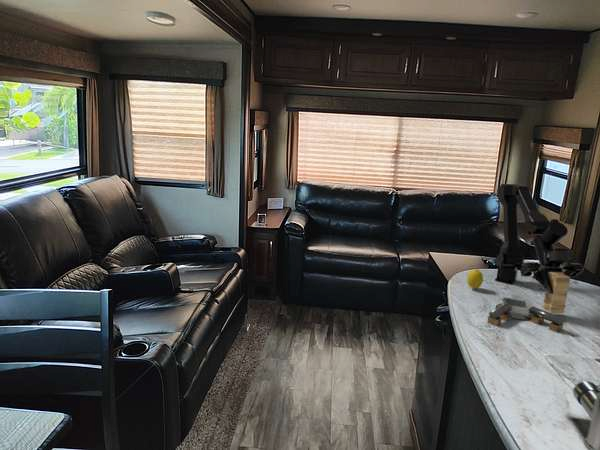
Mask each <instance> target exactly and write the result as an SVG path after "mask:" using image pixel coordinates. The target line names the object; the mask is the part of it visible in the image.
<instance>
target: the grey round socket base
mask: <svg viewBox="0 0 600 450" xmlns="http://www.w3.org/2000/svg"><path fill="white" fill-rule="evenodd" d="M505 304H510V305H511V306H512V310H511V311H509V312H508V313H511V315H510V320H511V319H512V320H518V321H529V320H530V321H531V317H532V315H533V314H531V313H529V309H530V308H531V306H530V304H529V302H528V301H527V300H524V299H519V298H511V297H503V298H501V302H500V303H498V304H496V305H495V308H494V310H495V309H497V308H499V307H501V306H503V305H505Z"/></svg>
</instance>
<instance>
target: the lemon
mask: <svg viewBox="0 0 600 450" xmlns="http://www.w3.org/2000/svg"><path fill="white" fill-rule="evenodd" d="M483 277H484V276H483V272H481V271H480V270H479V269H477V268H475V269H471V270H470V271H469V272H468V274H467V277H466V281H467V285H468V286H469V287H470V288H472V289H473V290H475V289H477V288H479V287H481V286H482V285H483V282H484V278H483Z"/></svg>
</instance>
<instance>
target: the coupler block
mask: <svg viewBox="0 0 600 450" xmlns="http://www.w3.org/2000/svg"><path fill="white" fill-rule="evenodd" d="M549 279H550V283H551V286H552V289H553V293H552V294H550V293H549V292H548V291H547V290H546V289H545V294H544V298H543V306H542V308H543V310H544V311H546V312H549V313H551V314H562V315H564V313H565V308H566V305H567V297H568V292H569V287H570V280H571V277H569V276H567V275H565V274H563V273H558V272H549Z"/></svg>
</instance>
